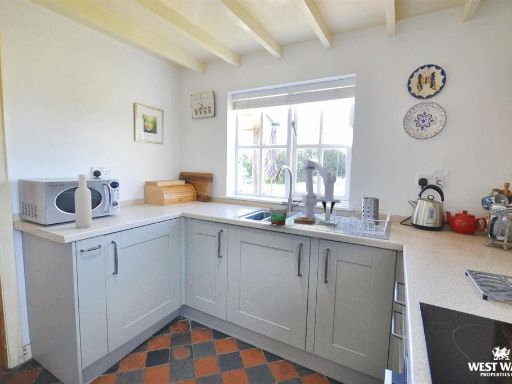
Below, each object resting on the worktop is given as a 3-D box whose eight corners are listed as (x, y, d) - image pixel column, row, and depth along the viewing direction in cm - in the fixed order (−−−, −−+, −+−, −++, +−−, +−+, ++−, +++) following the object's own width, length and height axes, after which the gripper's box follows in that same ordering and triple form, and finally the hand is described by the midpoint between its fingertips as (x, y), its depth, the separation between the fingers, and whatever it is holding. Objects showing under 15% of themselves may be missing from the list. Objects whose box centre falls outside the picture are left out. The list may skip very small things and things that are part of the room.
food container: (265, 224, 167) (266, 208, 166) (269, 222, 172) (270, 207, 171) (283, 226, 161) (284, 210, 160) (287, 224, 166) (287, 209, 166)
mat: (319, 221, 181) (319, 220, 181) (337, 222, 177) (337, 222, 177) (317, 224, 168) (317, 224, 168) (336, 226, 164) (336, 226, 164)
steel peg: (325, 220, 170) (325, 208, 170) (325, 219, 174) (326, 207, 174) (329, 220, 169) (330, 208, 169) (330, 219, 173) (331, 207, 172)
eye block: (297, 220, 184) (297, 216, 183) (314, 221, 179) (315, 217, 179) (293, 222, 172) (294, 219, 172) (312, 224, 168) (312, 220, 168)
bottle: (74, 226, 149) (72, 174, 146) (89, 224, 154) (88, 174, 152) (77, 229, 143) (75, 174, 141) (94, 227, 149) (92, 174, 147)
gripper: (316, 192, 170) (316, 213, 171) (340, 193, 164) (339, 214, 165) (318, 192, 176) (317, 211, 177) (340, 193, 171) (340, 213, 172)
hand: (328, 213), depth 172 cm, fingers closed on steel peg, 3 cm apart
